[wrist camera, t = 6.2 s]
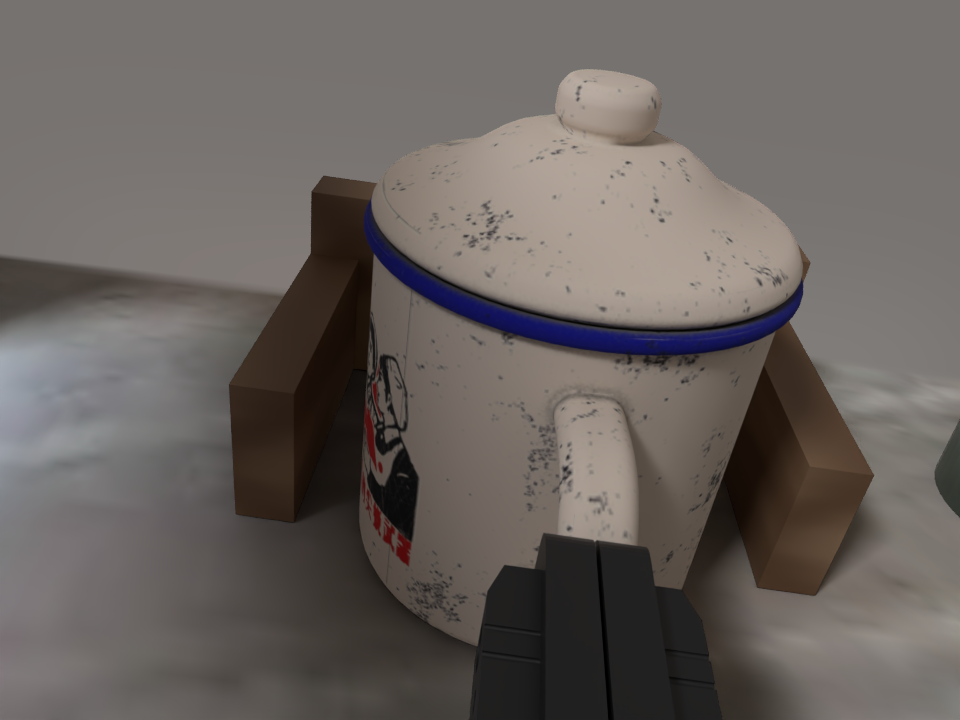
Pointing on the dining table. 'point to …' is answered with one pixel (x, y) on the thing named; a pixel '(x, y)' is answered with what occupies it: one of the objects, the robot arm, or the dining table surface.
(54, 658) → the dining table surface
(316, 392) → the walnut cup holder
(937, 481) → the green ceramic sugar pot
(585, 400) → the teacup with lid
